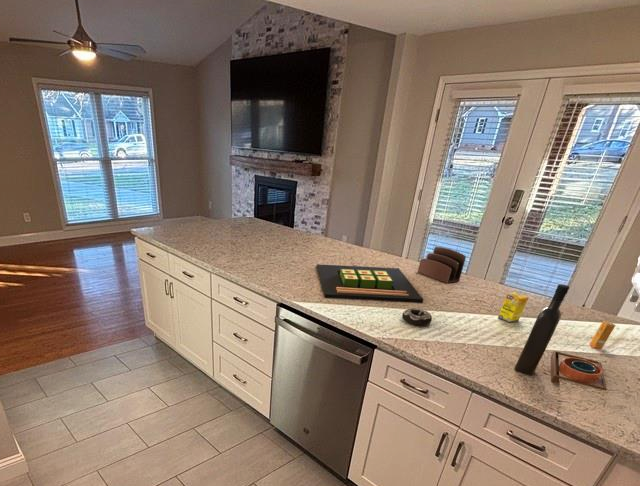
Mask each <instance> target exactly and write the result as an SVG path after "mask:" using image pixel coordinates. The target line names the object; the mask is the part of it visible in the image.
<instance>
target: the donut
mask: <svg viewBox="0 0 640 486" xmlns="http://www.w3.org/2000/svg"><path fill="white" fill-rule="evenodd" d="M401 317H402V319H403V321H404V322H405V323H407V324H408V325H412V326H416V327H424V326H428V325H430V324H431V323H432V321H433V316H432V314H431V313H430V312H428V310H425V309H422V308H413V307H412V308H411V307H410V308H407V309H405V310H403V312H402V316H401Z"/></svg>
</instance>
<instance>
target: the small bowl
mask: <svg viewBox="0 0 640 486" xmlns="http://www.w3.org/2000/svg"><path fill="white" fill-rule="evenodd" d="M570 368H572V369H574V370H577V371H580V372H583V373H588V374H594V373H595V371H596V368H595V367H594V366H593V365H591V364H589V363H586V362H582V361H573V362H572V363H571V365H570Z"/></svg>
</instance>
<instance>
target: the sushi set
mask: <svg viewBox="0 0 640 486" xmlns="http://www.w3.org/2000/svg"><path fill="white" fill-rule="evenodd" d="M316 272H317V275H318V279H319V283H320V286H321V291H322V293H323V297H324V298H325V299H344V300H363V301H380V302H381V301H382V302H404V303H419V304H420V303H421V304H422V303H423V302H424V298H423V297H422V296H421V294H420V293H419V292H418V291H417V289H416V288H415V287H414V286H413V284H412V283H411V282H410V281H409V279H408V278H407V277H406V276H405V274H404V273H403V272H402V270H401V269H400V268H399V267H381V266H380V267H379V266H362V265H361V266H359V265H339V264H321V263H320V264H317V263H316Z"/></svg>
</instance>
